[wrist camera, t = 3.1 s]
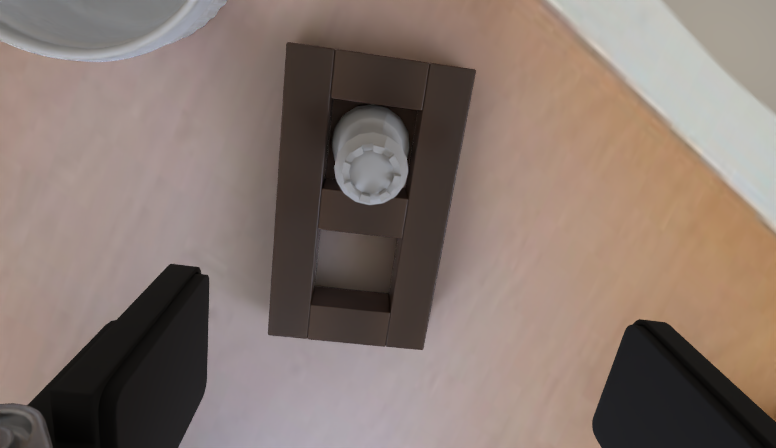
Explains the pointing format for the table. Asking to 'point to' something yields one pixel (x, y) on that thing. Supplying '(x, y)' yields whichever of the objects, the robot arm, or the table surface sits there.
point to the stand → (340, 213)
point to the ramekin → (100, 26)
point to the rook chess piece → (370, 154)
